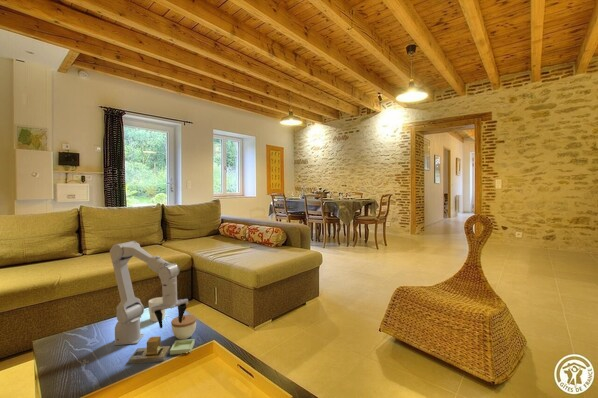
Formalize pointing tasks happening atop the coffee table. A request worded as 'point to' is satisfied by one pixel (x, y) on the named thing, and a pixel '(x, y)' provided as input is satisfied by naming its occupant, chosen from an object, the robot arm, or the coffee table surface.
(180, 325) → the lidded jar
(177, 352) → the parts tray
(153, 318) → the white cup
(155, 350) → the upright wooden block
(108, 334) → the coffee table surface
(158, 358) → the grey rectangular frame
